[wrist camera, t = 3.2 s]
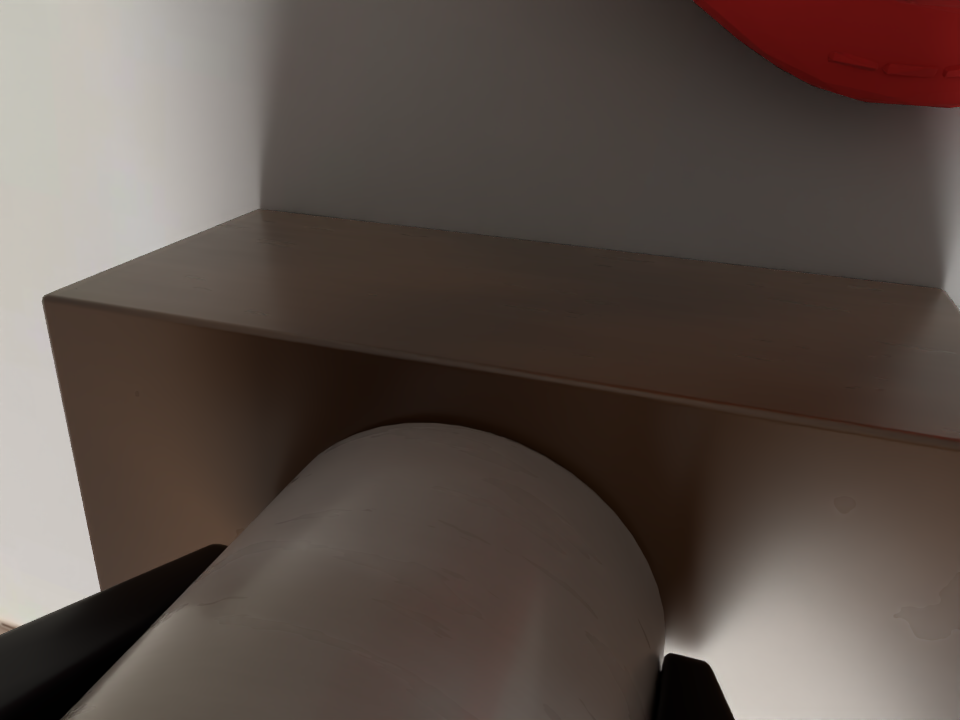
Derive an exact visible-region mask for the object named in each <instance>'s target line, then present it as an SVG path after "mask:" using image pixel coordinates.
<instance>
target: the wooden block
mask: <svg viewBox="0 0 960 720" xmlns="http://www.w3.org/2000/svg"><path fill="white" fill-rule="evenodd" d="M42 304H43V309H44V314H45V319H46V324H47V329H48V334H49V338H50V343H51V348H52V353H53V358H54V363H55V368H56V373H57V378H58V383H59V388H60V393H61V397H62V402H63V407H64V412H65V417H66V422H67V427H68V432H69V437H70V442H71V447H72V452H73V457H74V461H75V466H76V471H77V476H78V481H79V486H80V491H81V496H82V501H83V506H84V511H85V516H86V520H87V525H88V530H89V535H90V540H91V545H92V550H93V555H94V560H95V565H96V570H97V575H98V580H99V584H100V589H101V591H103V590H106V589H108V588H110V587H113V586H115V585H117V584H120V583H122V582H124V581H127V580H129V579H131V578H134V577H136V576H138V575H141V574H143V573H145V572H148V571H150V570H152V569H155V568H157V567H159V566H162V565H164V564H166V563H169V562H171V561H173V560H176V559H178V558H180V557H183V556H185V555H187V554H189V553H192V552H194V551H196V550H199V549H201V548H203V547H206V546H208V545H211V544H223V545H227V546H229V545H230V544H231V543H232V542H233V541H234V540H235V539H236V538H237V537H238V536H239V535H240V534H241V533H242V532H243V531H244V530H245V529H246V528H247V527H248V526H249V525H250V523H251V522H252V521H253V520H254V519H255V518H256V517H257V516H258V515H259V514H260V513H261V512H262V511H263V510H264V509H265V508H266V507H267V506H268V505H269V504H270V503H271V502H272V501H273V500H274V499H275V498H276V497H277V496H278V495H279V494H280V493H281V492H282V490H283V489H284V488H285V487H286V486H287V485H288V484H289V483H290V482H291V481H292V480H293V479H294V478H295V477H296V476H297V475H298V474H299V473H300V472H301V471H302V470H303V469H304V468H305V467H306V466H307V465H308V464H309V463H310V462H311V461H312V460H313V459H314V458H316V457H317V456H318V455H319V454H320V453H322V452H323V451H325V450H326V449H328V448H329V447H331V446H332V445H334V444H335V443H337V442H339V441H341V440H344V439H346V438H348V437H350V436H352V435H355V434H357V433H360V432H364V431H367V430H371V429H374V428H378V427H382V426H389V425H396V424H403V423H443V424H451V425H460V426H466V427H470V428H474V429H478V430H482V431H486V432H490V433H493V434H496V435H499V436H502V437H504V438H507V439H510V440H512V441H515V442H518V443H520V444H522V445H524V446H526V447H528V448H530V449H532V450H534V451H536V452H538V453H540V454H542V455H544V456H546V457H548V458H549V459H551V460H552V461H554V462H556V463H557V464H559V465H560V466H562V467H563V468H565V469H566V470H568V471H570V472H571V473H572V474H574V475H575V476H576V477H577V478H579V479H580V480H581V481H582V482H583V483H585V484H586V485H587V486H588V487H590V488H591V489H592V490H593V491H594V492H595V493H596V494H597V495H598V496H599V497H600V498H601V499H602V500H603V501H604V502H605V503H606V504H607V505H608V506H609V507H610V508H611V509H612V510H613V511H614V512H615V513H616V515H617V516H618V517H619V518H620V520H621V521H622V522H623V524H624V525H625V526H626V528H627V529H628V530H629V532H630V533H631V534H632V536H633V537H634V539H635V541H636V543H637V544H638V546H639V548H640V549H641V551H642V553H643V555H644V556H645V558H646V560H647V562H648V564H649V567H650V569H651V571H652V574H653V576H654V579H655V581H656V584H657V586H658V590H659V594H660V598H661V602H662V606H663V610H664V621H665V633H666V636H665V648H664V657H665V656H666V654H669V653H675V654H679V655H683V656H687V657H691V658H695V659H699V660H703V661H705V662H707V663H708V664H709V665H710V666H711V668H712V670H713V672H714V674H715V676H716V679H717V681H718V683H719V685H720V687H721V690H722V692H723V694H724V696H725V699H726V701H727V703H728V705H729V707H730V710H731V712H732V714H733V716H734V719H735V720H960V311H959V309H958V308H957V306H956V305H955V304H954V302H953V301H952V299H951V298H950V297H949V295H948V294H947V292H946V291H944V290H942V289H939V288H930V287H922V286H913V285H904V284H896V283H887V282H879V281H870V280H862V279H853V278H845V277H836V276H828V275H819V274H810V273H802V272H793V271H785V270H776V269H768V268H759V267H751V266H742V265H734V264H725V263H716V262H708V261H699V260H691V259H682V258H674V257H665V256H657V255H648V254H640V253H631V252H622V251H614V250H605V249H597V248H588V247H580V246H571V245H563V244H554V243H546V242H537V241H528V240H520V239H511V238H503V237H494V236H486V235H477V234H469V233H460V232H452V231H443V230H434V229H426V228H417V227H409V226H400V225H392V224H383V223H375V222H366V221H358V220H349V219H340V218H332V217H323V216H315V215H306V214H298V213H289V212H281V211H272V210H264V209H257V210H255V211H252V212H250V213H247V214H245V215H242V216H240V217H237V218H235V219H232V220H230V221H227V222H225V223H222V224H220V225H217V226H215V227H212V228H210V229H207V230H205V231H202V232H200V233H197V234H195V235H192V236H190V237H188V238H185V239H183V240H180V241H178V242H175V243H173V244H170V245H168V246H165V247H163V248H160V249H158V250H155V251H153V252H150V253H148V254H145V255H143V256H140V257H138V258H135V259H133V260H130V261H128V262H125V263H123V264H121V265H118V266H116V267H113V268H111V269H108V270H106V271H103V272H101V273H98V274H96V275H93V276H91V277H88V278H86V279H83V280H81V281H78V282H76V283H73V284H71V285H68V286H66V287H63V288H61V289H58V290H56V291H54V292H51V293H49V294H46V295H44V297H43V299H42Z"/></svg>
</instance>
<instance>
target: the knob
mask: <svg viewBox="0 0 960 720" xmlns="http://www.w3.org/2000/svg"><path fill="white" fill-rule="evenodd" d="M665 636H666V633H665V621H664V610H663V606H662V602H661V598H660V594H659V590H658V586H657V584H656V581H655V579H654V576H653V574H652V571H651V569H650V567H649V564H648V562H647V560H646V558H645V556H644V555H643V553H642V551H641V549H640V548H639V546H638V544H637V543H636V541H635V539H634V537H633V536H632V534H631V533H630V532H629V530H628V529H627V528H626V526H625V525H624V524H623V522H622V521H621V520H620V518H619V517H618V516H617V515H616V513H615V512H614V511H613V510H612V509H611V508H610V507H609V506H608V505H607V504H606V503H605V502H604V501H603V500H602V499H601V498H600V497H599V496H598V495H597V494H596V493H595V492H594V491H593V490H592V489H591V488H590V487H588V486H587V485H586V484H585V483H583V482H582V481H581V480H580V479H579V478H577V477H576V476H575V475H574V474H572V473H571V472H570V471H568V470H566V469H565V468H563V467H562V466H560V465H559V464H557V463H556V462H554V461H552V460H551V459H549V458H548V457H546V456H544V455H542V454H540V453H538V452H536V451H534V450H532V449H530V448H528V447H526V446H524V445H522V444H520V443H518V442H515V441H512V440H510V439H507V438H504V437H502V436H499V435H496V434H493V433H490V432H486V431H482V430H478V429H474V428H470V427H466V426H460V425H451V424H443V423H403V424H396V425H389V426H382V427H378V428H374V429H371V430H367V431H364V432H360V433H357V434H355V435H352V436H350V437H348V438H346V439H344V440H341V441H339V442H337V443H335V444H334V445H332V446H331V447H329V448H328V449H326V450H325V451H323V452H322V453H320V454H319V455H318V456H317V457H316V458H314V459H313V460H312V461H311V462H310V463H309V464H308V465H307V466H306V467H305V468H304V469H303V470H302V471H301V472H300V473H299V474H298V475H297V476H296V477H295V478H294V479H293V480H292V481H291V482H290V483H289V484H288V485H287V486H286V487H285V488H284V489H283V490H282V492H281V493H280V494H279V495H278V496H277V497H276V498H275V499H274V500H273V501H272V502H271V503H270V504H269V505H268V506H267V507H266V508H265V509H264V510H263V511H262V512H261V513H260V514H259V515H258V516H257V517H256V518H255V519H254V520H253V521H252V522H251V523H250V525H249V526H248V527H247V528H246V529H245V530H244V531H243V532H242V533H241V534H240V535H239V536H238V537H237V538H236V539H235V540H234V541H233V542H232V543H231V544H230V545H229V546H228V547H227V548H226V549H225V550H224V551H223V552H222V553H221V554H220V555H219V557H218V558H217V559H216V560H215V561H214V562H213V563H212V564H211V565H210V566H209V567H208V568H207V569H206V570H205V571H204V572H203V573H202V574H201V575H200V576H199V577H198V578H197V579H196V580H195V581H194V582H193V583H192V584H191V585H190V586H189V587H188V588H187V590H186V591H185V592H184V593H183V594H182V595H181V596H180V597H179V598H178V599H177V600H176V601H175V602H174V603H173V604H172V605H171V606H170V607H169V608H168V609H167V610H166V611H165V612H164V613H163V614H162V615H161V616H160V617H159V618H158V619H157V620H156V621H155V623H154V624H153V625H152V626H151V627H150V628H149V629H148V630H147V631H146V632H145V633H144V634H143V635H142V636H141V637H140V638H139V639H138V640H137V641H136V642H135V643H134V644H133V645H132V646H131V647H130V648H129V649H128V650H127V651H126V652H125V653H124V654H123V656H122V657H121V658H120V659H119V660H118V661H117V662H116V663H115V664H114V665H113V666H112V667H111V668H110V669H109V670H108V671H107V672H106V673H105V674H104V675H103V676H102V677H101V678H100V679H99V680H98V681H97V682H96V683H95V684H94V685H93V686H92V687H91V689H90V690H89V691H88V692H87V693H86V694H85V695H84V696H83V697H82V698H81V699H80V700H79V701H78V702H77V703H76V704H75V705H74V706H73V707H72V708H71V709H70V710H69V711H68V712H67V713H66V714H65V715H64V716H63V717H62V718H61V719H60V720H655V715H656V707H657V699H658V692H659V684H660V676H661V670H662V664H663V659H664V648H665Z"/></svg>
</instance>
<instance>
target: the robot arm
mask: <svg viewBox="0 0 960 720" xmlns="http://www.w3.org/2000/svg"><path fill="white" fill-rule="evenodd" d="M227 547H228V546H227V545H223V544H211V545H208V546H206V547H203V548H201V549H199V550H196V551H194V552H192V553H189V554H187V555H185V556H183V557H180V558H178V559H176V560H173V561H171V562H169V563H166V564H164V565H162V566H159V567H157V568H155V569H152V570H150V571H148V572H145V573H143V574H141V575H138V576H136V577H134V578H131V579H129V580H127V581H124V582H122V583H120V584H117V585H115V586H113V587H110V588H108V589H106V590H103V591H101V592H99V593H96V594H94V595H92V596H89V597H87V598H85V599H83V600H80V601H78V602H76V603H73V604H71V605H69V606H66V607H64V608H62V609H59V610H57V611H55V612H52V613H50V614H48V615H45V616H43V617H41V618H38V619H36V620H34V621H31V622H29V623H27V624H24V625H22V626H20V627H17V628H15V629H13V630H10V631H8V632H6V633H3V634H1V635H0V720H60V719H61V718H62V717H63V716H64V715H65V714H66V713H67V712H68V711H69V710H70V709H71V708H72V707H73V706H74V705H75V704H76V703H77V702H78V701H79V700H80V699H81V698H82V697H83V696H84V695H85V694H86V693H87V692H88V691H89V690H90V689H91V687H92V686H93V685H94V684H95V683H96V682H97V681H98V680H99V679H100V678H101V677H102V676H103V675H104V674H105V673H106V672H107V671H108V670H109V669H110V668H111V667H112V666H113V665H114V664H115V663H116V662H117V661H118V660H119V659H120V658H121V657H122V656H123V654H124V653H125V652H126V651H127V650H128V649H129V648H130V647H131V646H132V645H133V644H134V643H135V642H136V641H137V640H138V639H139V638H140V637H141V636H142V635H143V634H144V633H145V632H146V631H147V630H148V629H149V628H150V627H151V626H152V625H153V624H154V623H155V621H156V620H157V619H158V618H159V617H160V616H161V615H162V614H163V613H164V612H165V611H166V610H167V609H168V608H169V607H170V606H171V605H172V604H173V603H174V602H175V601H176V600H177V599H178V598H179V597H180V596H181V595H182V594H183V593H184V592H185V591H186V590H187V588H188V587H189V586H190V585H191V584H192V583H193V582H194V581H195V580H196V579H197V578H198V577H199V576H200V575H201V574H202V573H203V572H204V571H205V570H206V569H207V568H208V567H209V566H210V565H211V564H212V563H213V562H214V561H215V560H216V559H217V558H218V557H219V555H220V554H221V553H222V552H223V551H224V550H225V549H226V548H227ZM655 720H735V719H734V716H733V714H732V712H731V710H730V707H729V705H728V703H727V701H726V699H725V696H724V694H723V692H722V690H721V687H720V685H719V683H718V681H717V679H716V676H715V674H714V672H713V670H712V668H711V666H710V665H709V664H708V663H707V662H705V661H703V660H699V659H695V658H691V657H687V656H683V655H679V654H675V653H669V654H666V656H665V657H664V659H663V664H662V670H661V676H660V684H659V692H658V699H657V707H656V715H655Z"/></svg>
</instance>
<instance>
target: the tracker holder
mask: <svg viewBox="0 0 960 720" xmlns="http://www.w3.org/2000/svg"><path fill="white" fill-rule="evenodd" d="M693 1H694V2H695V3H696V4H697V5H698V6H699V7H700V8H701V9H703V10H704V11H705V12H706V13H707V14H709V15H710V16H711V17H712V18H713V19H714V20H716V21H717V22H718V23H719V24H720V25H722V26H723V27H724V28H725V29H726V30H727V31H729V32H730V33H731V34H732V35H733V36H735V37H736V38H737V39H738V40H739V41H741V42H742V43H743V44H745V45H746V46H748V47H749V48H751V49H752V50H754V51H755V52H756V53H758V54H759V55H761V56H762V57H764V58H765V59H766V60H768V61H770V62H771V63H772V64H774V65H775V66H777V67H778V68H780V69H782V70H784V71H786V72H787V73H789V74H791V75H793V76H795V77H797V78H798V79H800V80H802V81H804V82H806V83H808V84H810V85H811V86H814V87H817V88H820V89H823V90H827V91H830V92H833V93H836V94H839V95H843V96H846V97H849V98H853V99H856V100H860V101H863V102H869V103H884V104H899V105H914V106H929V107H944V108H953V107H960V0H693Z"/></svg>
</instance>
